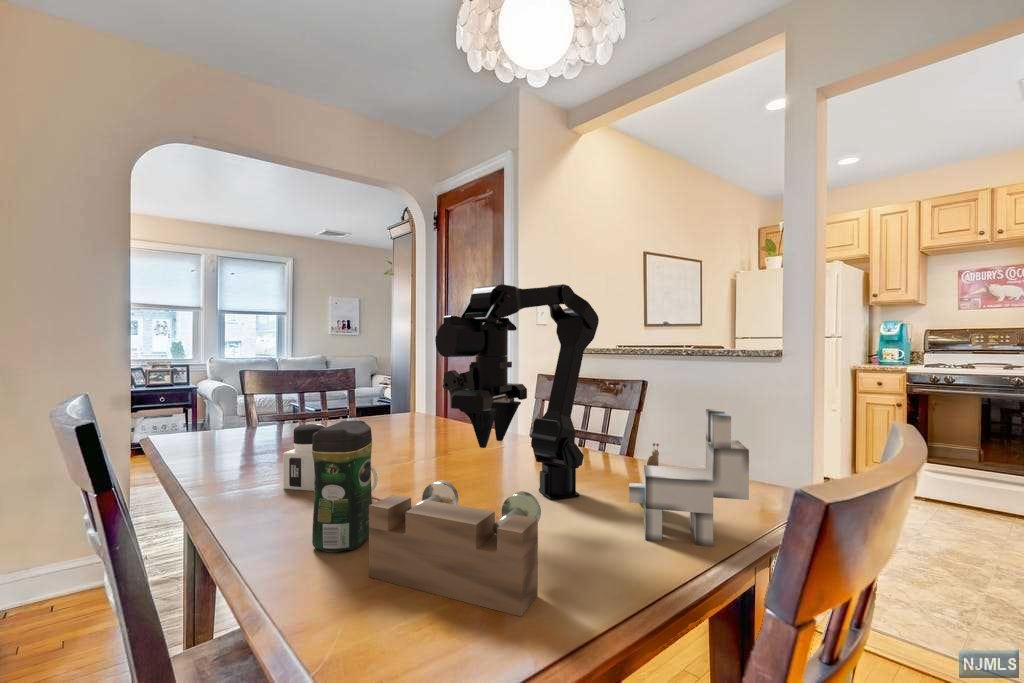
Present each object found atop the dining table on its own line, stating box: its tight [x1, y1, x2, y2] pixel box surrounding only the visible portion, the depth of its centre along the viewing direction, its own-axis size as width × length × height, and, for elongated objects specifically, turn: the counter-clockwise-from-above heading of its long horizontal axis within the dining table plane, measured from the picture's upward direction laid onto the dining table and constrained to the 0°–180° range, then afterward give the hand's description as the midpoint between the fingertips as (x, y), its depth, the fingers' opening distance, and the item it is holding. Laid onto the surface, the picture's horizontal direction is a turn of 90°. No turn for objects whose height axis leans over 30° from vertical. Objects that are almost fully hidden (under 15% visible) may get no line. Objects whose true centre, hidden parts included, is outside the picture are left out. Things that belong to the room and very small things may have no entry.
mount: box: [368, 494, 539, 617], centre depth 63 cm, size 5×22×10 cm, turn 65°
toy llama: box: [628, 408, 750, 547], centre depth 80 cm, size 8×18×20 cm, turn 77°
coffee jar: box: [311, 420, 373, 553], centre depth 77 cm, size 10×8×19 cm
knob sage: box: [493, 491, 542, 535], centre depth 64 cm, size 8×5×5 cm, turn 155°
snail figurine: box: [638, 442, 660, 510], centre depth 91 cm, size 5×6×12 cm
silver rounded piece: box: [408, 479, 460, 510], centre depth 70 cm, size 8×5×5 cm, turn 155°
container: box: [282, 423, 327, 492], centre depth 106 cm, size 8×8×13 cm
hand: (491, 444), depth 87 cm, fingers open, 6 cm apart
